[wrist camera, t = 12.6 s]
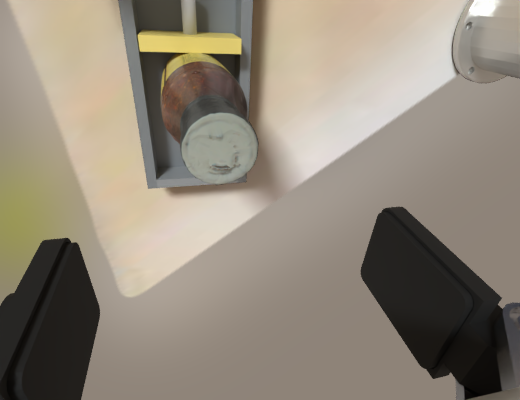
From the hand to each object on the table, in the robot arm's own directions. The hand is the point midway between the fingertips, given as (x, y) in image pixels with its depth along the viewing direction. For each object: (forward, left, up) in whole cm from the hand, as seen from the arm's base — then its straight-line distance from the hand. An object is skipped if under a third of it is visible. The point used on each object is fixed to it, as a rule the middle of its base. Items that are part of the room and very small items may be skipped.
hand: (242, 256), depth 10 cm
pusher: (0, -6, -27) cm, 28 cm away
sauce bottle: (0, 0, -27) cm, 27 cm away
